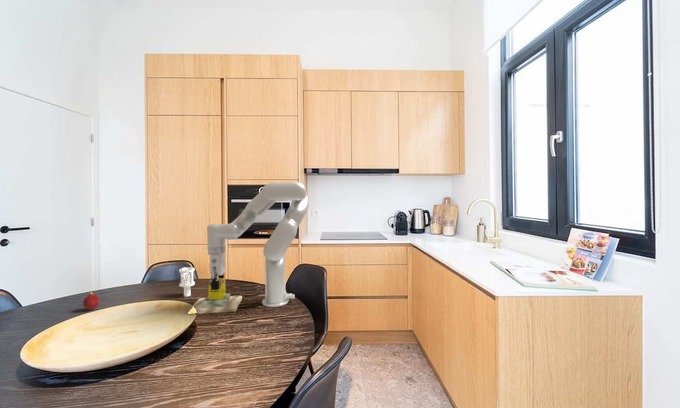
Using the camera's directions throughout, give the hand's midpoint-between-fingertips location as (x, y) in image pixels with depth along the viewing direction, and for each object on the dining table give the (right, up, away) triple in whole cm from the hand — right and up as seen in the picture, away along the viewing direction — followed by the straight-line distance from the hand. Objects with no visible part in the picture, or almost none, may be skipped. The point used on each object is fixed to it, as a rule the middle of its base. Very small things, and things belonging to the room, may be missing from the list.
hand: (217, 286), depth 133 cm
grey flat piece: (-1, -9, 0) cm, 9 cm away
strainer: (-22, -9, +15) cm, 28 cm away
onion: (-56, -10, -4) cm, 57 cm away
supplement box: (-1, -8, +1) cm, 8 cm away
